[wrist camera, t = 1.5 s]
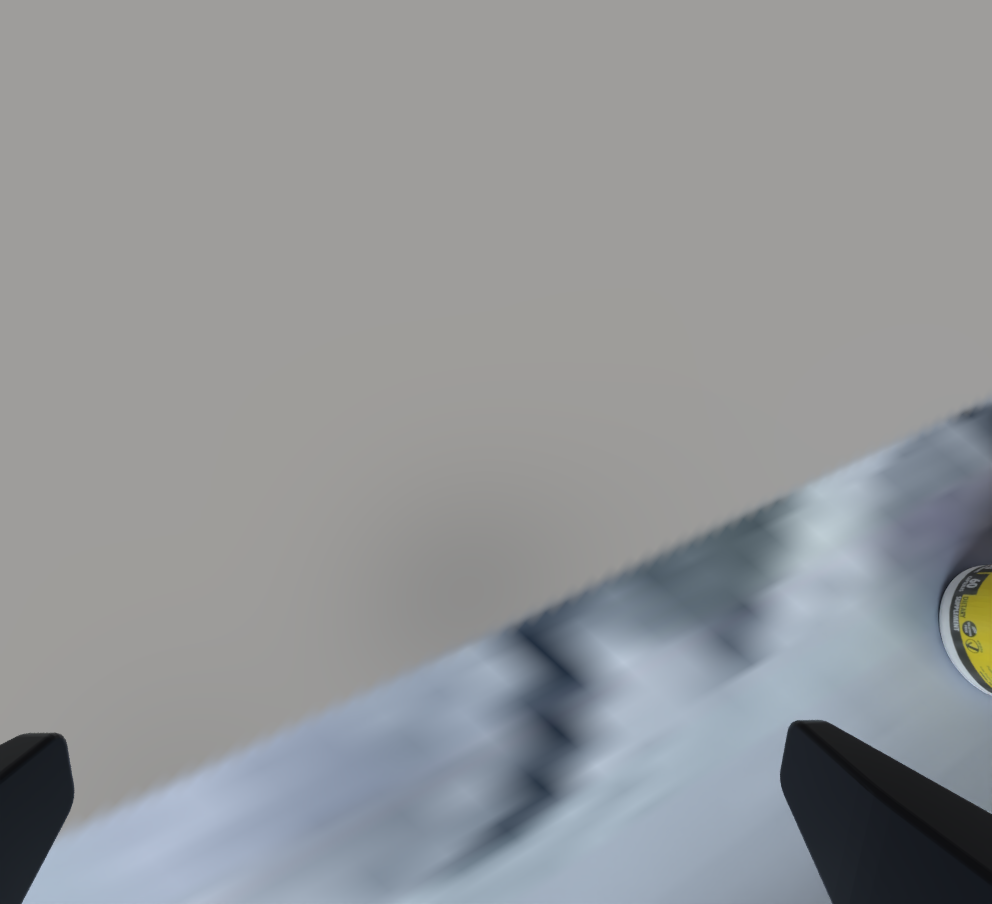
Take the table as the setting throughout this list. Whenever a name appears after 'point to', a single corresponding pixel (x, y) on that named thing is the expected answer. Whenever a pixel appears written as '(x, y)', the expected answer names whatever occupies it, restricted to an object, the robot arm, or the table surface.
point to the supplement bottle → (969, 625)
